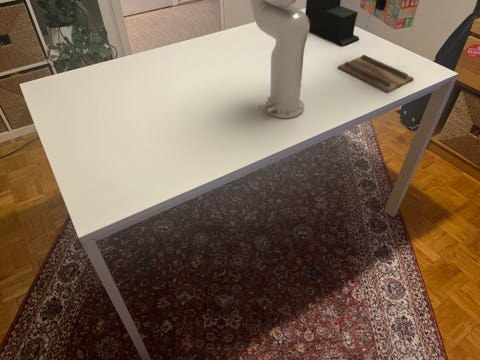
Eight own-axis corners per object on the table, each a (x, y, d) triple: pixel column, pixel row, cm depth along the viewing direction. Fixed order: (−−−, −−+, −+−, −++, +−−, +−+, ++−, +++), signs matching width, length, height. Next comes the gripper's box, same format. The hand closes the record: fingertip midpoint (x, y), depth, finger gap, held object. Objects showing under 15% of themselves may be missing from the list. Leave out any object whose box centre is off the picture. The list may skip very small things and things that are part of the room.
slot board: (386, 93, 125) (388, 86, 123) (337, 68, 139) (338, 62, 137) (413, 80, 131) (415, 74, 129) (363, 57, 145) (364, 51, 143)
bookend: (359, 40, 156) (371, -21, 140) (341, 47, 152) (351, -15, 136) (320, 24, 171) (326, -33, 154) (303, 30, 166) (307, -28, 150)
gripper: (393, -50, 101) (379, 16, 113) (432, -61, 108) (414, 3, 120) (372, -55, 105) (360, 9, 118) (410, -64, 112) (395, -3, 125)
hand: (387, 6), depth 119 cm, fingers closed on stack of blocks, 7 cm apart
